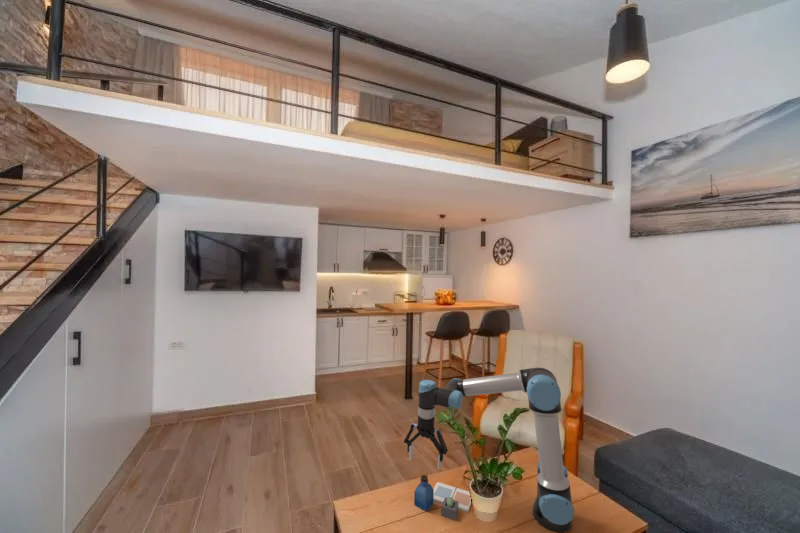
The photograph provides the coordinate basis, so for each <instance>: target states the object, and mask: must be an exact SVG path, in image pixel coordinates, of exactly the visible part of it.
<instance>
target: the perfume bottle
mask: <svg viewBox="0 0 800 533" xmlns="http://www.w3.org/2000/svg"><path fill="white" fill-rule="evenodd" d="M413 495H414V496H413V498H414V502H413V503H414V504H413V505H414V506H415V507H417V508H419V509H420V510H422V511H424V512H428V510H429V509H430V508H431V507H432V506H433V505H434V501H433V498H434V487H432V485H431V483H429V477H428V475H426V474H422V475H420V483H419V484H418V485H417V487H416V488H415V489H414V494H413Z"/></svg>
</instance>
